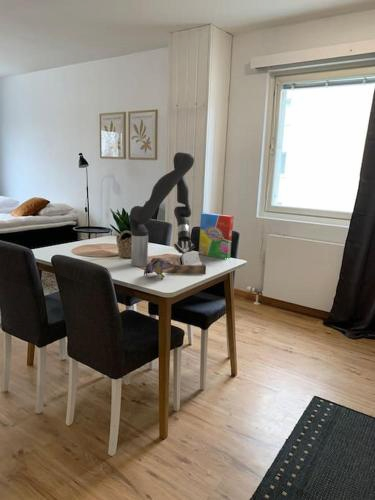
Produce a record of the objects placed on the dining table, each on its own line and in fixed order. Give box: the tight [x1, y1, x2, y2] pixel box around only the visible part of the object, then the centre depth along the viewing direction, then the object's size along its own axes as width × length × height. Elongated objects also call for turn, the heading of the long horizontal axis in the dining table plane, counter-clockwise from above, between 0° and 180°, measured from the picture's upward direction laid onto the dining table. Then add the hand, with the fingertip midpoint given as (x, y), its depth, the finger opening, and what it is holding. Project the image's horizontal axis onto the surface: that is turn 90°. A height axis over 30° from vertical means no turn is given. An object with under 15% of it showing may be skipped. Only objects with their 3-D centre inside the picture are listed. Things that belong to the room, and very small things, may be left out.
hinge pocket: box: [172, 261, 207, 275], centre depth 201 cm, size 17×7×4 cm, turn 96°
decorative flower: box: [143, 257, 173, 280], centre depth 187 cm, size 14×12×15 cm
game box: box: [198, 212, 234, 260], centre depth 238 cm, size 21×6×27 cm, turn 60°
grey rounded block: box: [177, 251, 203, 265], centre depth 209 cm, size 17×5×10 cm, turn 146°
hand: (185, 258), depth 212 cm, fingers closed
